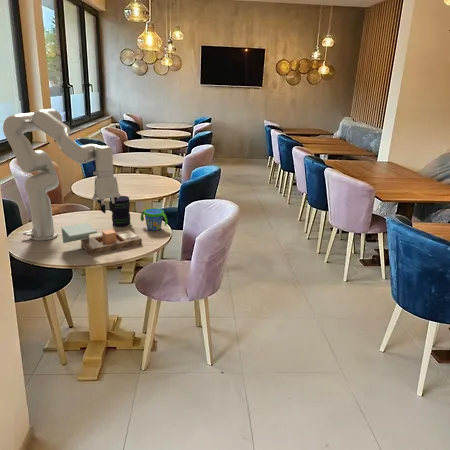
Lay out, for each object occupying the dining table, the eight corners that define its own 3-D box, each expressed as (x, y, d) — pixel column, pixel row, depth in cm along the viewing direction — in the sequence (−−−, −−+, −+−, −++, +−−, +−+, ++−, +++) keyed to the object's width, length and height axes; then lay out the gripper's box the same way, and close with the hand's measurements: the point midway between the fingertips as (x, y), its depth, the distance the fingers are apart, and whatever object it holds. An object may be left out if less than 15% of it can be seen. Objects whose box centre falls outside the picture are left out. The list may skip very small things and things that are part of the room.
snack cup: (171, 229, 223) (171, 211, 220) (159, 234, 215) (159, 216, 211) (149, 223, 230) (148, 206, 227) (136, 228, 222) (135, 210, 218)
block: (106, 246, 196) (105, 234, 194) (102, 242, 200) (102, 231, 197) (116, 244, 199) (116, 232, 196) (112, 240, 202) (112, 229, 200)
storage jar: (108, 225, 225) (107, 199, 220) (118, 220, 234) (116, 194, 229) (125, 228, 222) (123, 201, 217) (133, 222, 231) (132, 196, 226)
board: (91, 255, 188) (90, 248, 187) (81, 245, 198) (80, 239, 197) (141, 244, 202) (141, 238, 201) (130, 235, 212) (129, 229, 211)
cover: (71, 251, 182) (69, 236, 180) (63, 242, 192) (61, 227, 189) (98, 246, 189) (96, 231, 186) (88, 237, 199) (87, 222, 196)
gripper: (89, 177, 180) (93, 216, 186) (125, 173, 189) (127, 211, 195) (84, 173, 186) (87, 212, 192) (119, 170, 195) (121, 207, 201)
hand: (107, 211), depth 193 cm, fingers open, 3 cm apart
